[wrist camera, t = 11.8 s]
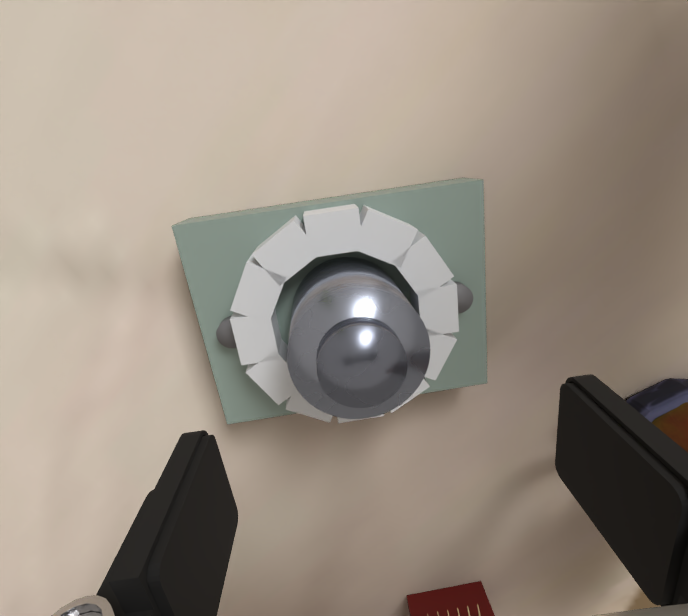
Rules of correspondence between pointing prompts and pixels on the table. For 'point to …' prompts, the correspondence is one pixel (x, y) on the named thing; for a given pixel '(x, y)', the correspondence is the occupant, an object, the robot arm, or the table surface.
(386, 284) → the hub
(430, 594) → the toy houses
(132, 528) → the robot arm
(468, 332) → the block
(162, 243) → the table surface
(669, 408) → the mug
